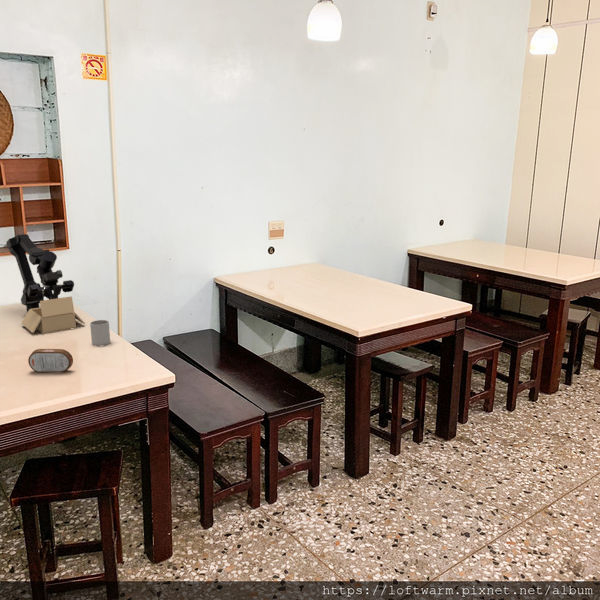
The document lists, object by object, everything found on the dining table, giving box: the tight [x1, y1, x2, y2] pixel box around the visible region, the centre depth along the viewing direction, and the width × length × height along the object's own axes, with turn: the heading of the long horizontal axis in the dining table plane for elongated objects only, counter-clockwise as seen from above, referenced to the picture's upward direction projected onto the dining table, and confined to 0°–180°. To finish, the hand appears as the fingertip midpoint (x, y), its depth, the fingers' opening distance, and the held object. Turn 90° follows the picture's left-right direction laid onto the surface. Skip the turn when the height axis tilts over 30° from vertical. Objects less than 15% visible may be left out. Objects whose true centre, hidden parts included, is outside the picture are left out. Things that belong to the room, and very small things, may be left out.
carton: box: [21, 307, 86, 335], centre depth 268 cm, size 22×22×7 cm
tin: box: [27, 348, 74, 374], centre depth 212 cm, size 15×3×8 cm, turn 92°
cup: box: [89, 319, 111, 347], centre depth 245 cm, size 7×10×9 cm
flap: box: [39, 296, 75, 317], centre depth 258 cm, size 7×13×1 cm
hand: (56, 304), depth 258 cm, fingers closed, pressing on flap
